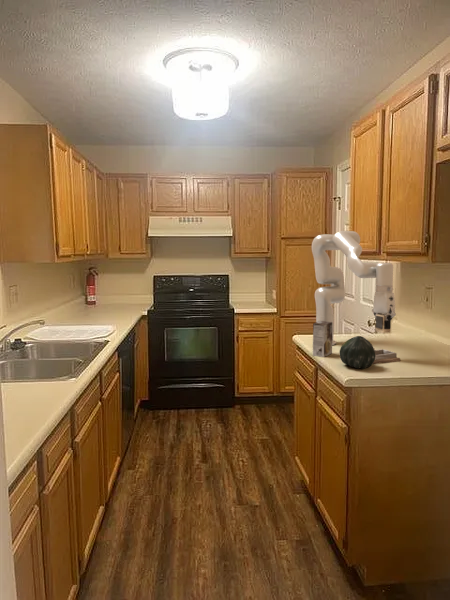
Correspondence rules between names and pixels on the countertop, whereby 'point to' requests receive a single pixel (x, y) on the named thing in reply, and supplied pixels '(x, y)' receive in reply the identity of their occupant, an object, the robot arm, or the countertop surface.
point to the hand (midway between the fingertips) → (383, 327)
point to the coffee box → (322, 338)
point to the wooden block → (381, 323)
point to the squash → (357, 352)
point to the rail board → (385, 356)
